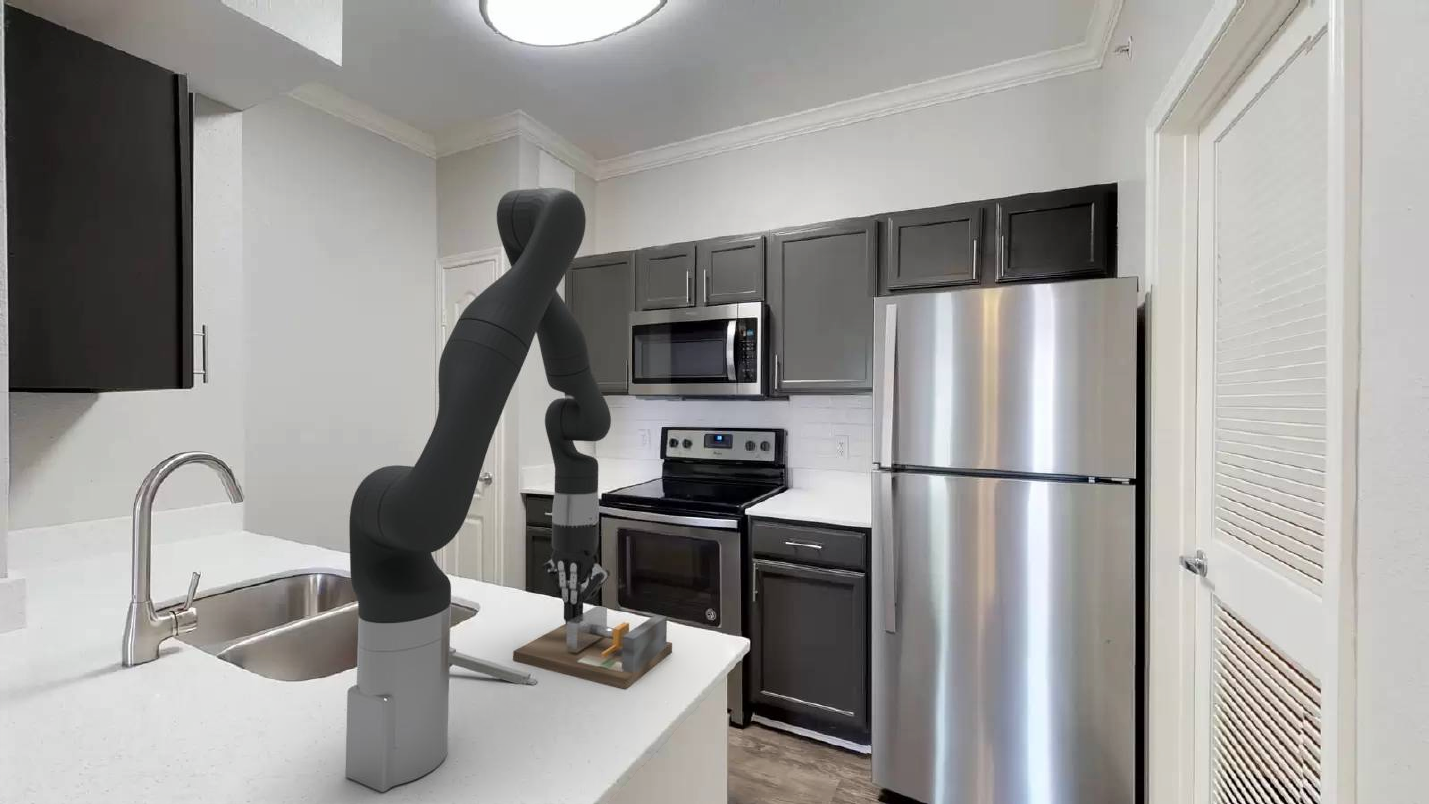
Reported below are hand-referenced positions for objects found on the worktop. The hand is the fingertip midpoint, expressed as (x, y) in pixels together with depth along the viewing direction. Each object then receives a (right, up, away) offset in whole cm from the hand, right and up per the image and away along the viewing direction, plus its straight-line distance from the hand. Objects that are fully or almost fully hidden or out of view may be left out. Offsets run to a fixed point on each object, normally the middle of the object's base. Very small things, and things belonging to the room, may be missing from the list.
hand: (573, 623), depth 94 cm
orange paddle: (+8, -2, -5) cm, 10 cm away
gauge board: (+4, -5, -2) cm, 6 cm away
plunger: (+5, -3, -2) cm, 6 cm away
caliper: (-13, -5, -10) cm, 17 cm away
